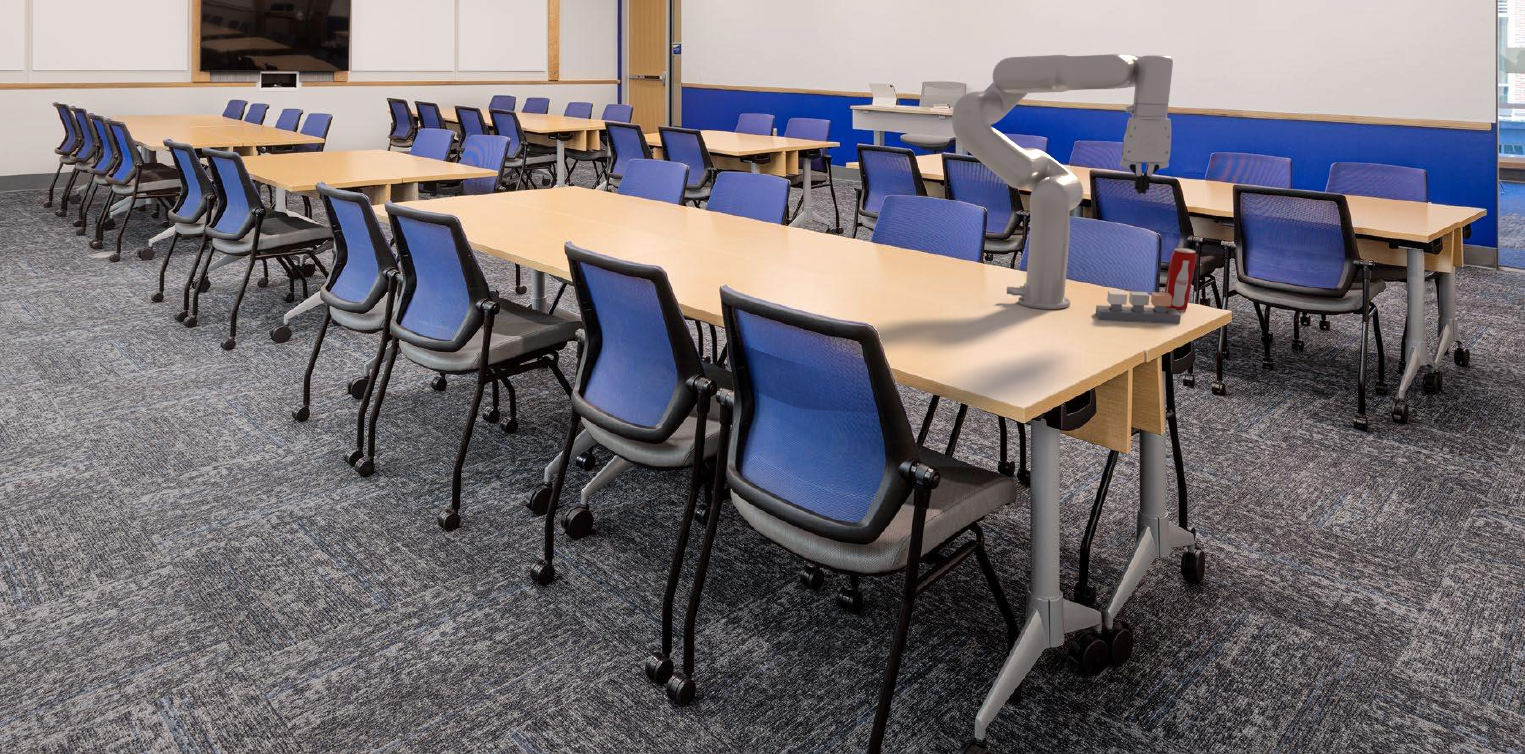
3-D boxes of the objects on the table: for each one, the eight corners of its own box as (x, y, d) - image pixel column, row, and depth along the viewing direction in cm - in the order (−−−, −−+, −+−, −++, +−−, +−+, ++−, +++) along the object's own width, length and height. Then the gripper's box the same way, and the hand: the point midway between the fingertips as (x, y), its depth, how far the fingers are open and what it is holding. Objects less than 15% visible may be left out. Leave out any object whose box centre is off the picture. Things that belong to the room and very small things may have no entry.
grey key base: (1099, 320, 245) (1100, 311, 244) (1095, 313, 251) (1096, 305, 251) (1179, 323, 242) (1180, 315, 241) (1173, 316, 248) (1174, 308, 248)
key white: (1108, 314, 246) (1110, 294, 244) (1106, 310, 249) (1108, 290, 248) (1125, 315, 245) (1127, 294, 244) (1122, 311, 249) (1124, 291, 247)
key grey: (1130, 315, 245) (1132, 294, 243) (1127, 311, 248) (1129, 291, 247) (1147, 315, 244) (1149, 295, 243) (1144, 312, 248) (1146, 292, 246)
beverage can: (1166, 305, 260) (1173, 246, 255) (1193, 309, 256) (1200, 249, 251) (1158, 309, 255) (1165, 249, 251) (1185, 313, 251) (1193, 252, 247)
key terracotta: (1152, 316, 244) (1154, 295, 243) (1149, 312, 248) (1151, 292, 246) (1169, 316, 243) (1171, 296, 242) (1166, 313, 247) (1168, 292, 246)
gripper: (1118, 112, 234) (1110, 194, 239) (1188, 113, 232) (1178, 196, 237) (1113, 110, 241) (1105, 190, 246) (1180, 111, 239) (1171, 192, 244)
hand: (1141, 193), depth 242 cm, fingers closed
